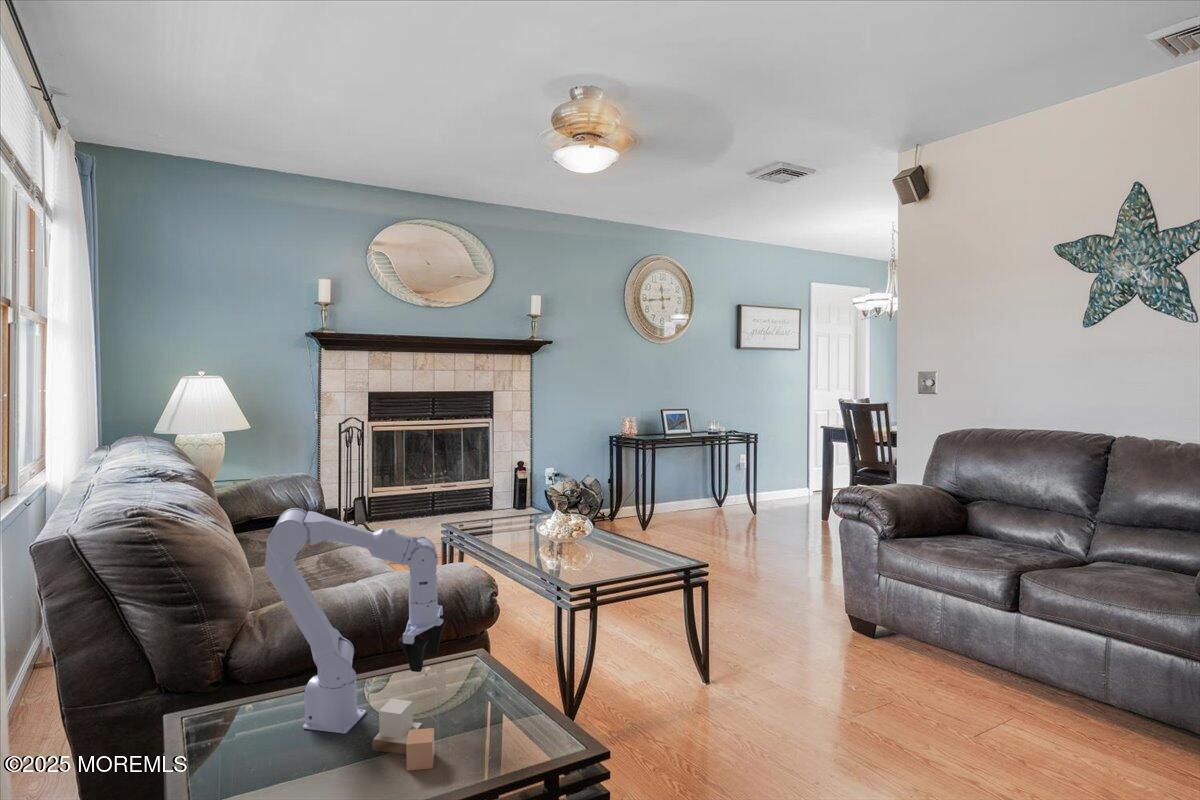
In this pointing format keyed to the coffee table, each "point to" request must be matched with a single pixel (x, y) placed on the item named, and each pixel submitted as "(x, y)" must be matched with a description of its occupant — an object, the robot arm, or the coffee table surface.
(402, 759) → the coffee table surface
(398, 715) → the stone block
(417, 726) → the plinth
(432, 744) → the terracotta block
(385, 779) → the coffee table surface
